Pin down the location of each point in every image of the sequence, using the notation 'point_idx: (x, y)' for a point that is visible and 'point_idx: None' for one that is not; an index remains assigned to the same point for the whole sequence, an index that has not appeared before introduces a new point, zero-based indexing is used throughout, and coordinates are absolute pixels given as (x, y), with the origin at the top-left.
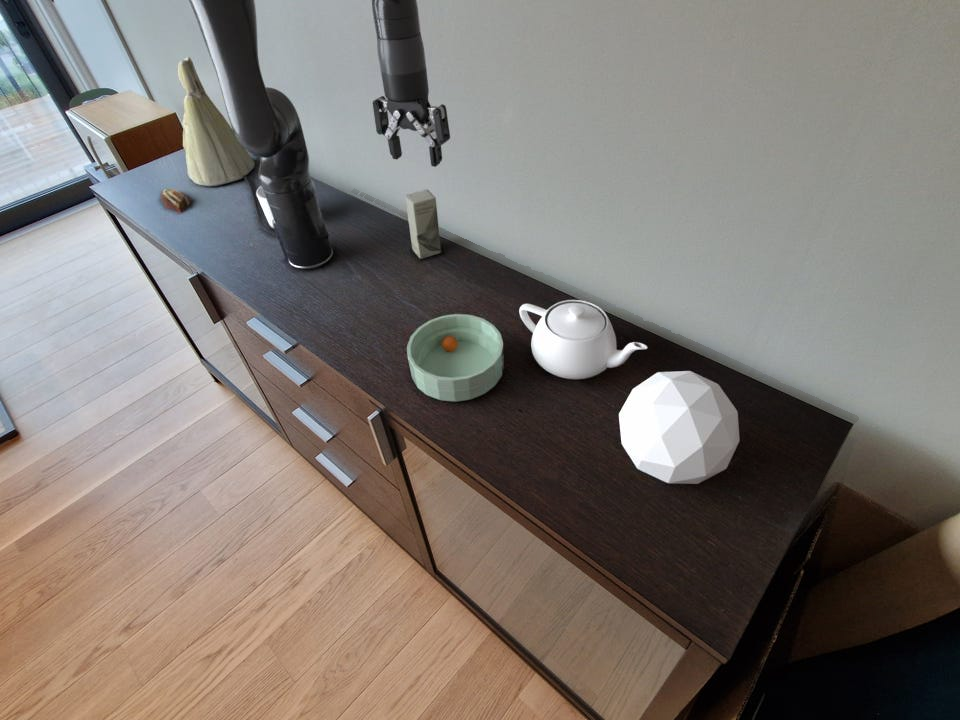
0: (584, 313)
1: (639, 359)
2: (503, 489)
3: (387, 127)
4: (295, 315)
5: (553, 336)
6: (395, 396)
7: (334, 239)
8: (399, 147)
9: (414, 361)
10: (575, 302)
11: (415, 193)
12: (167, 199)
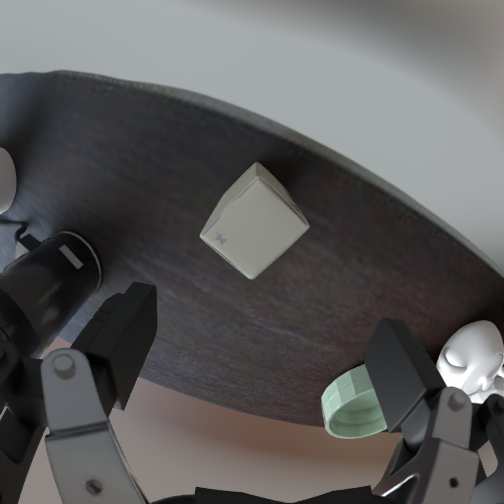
0: (491, 370)
1: (500, 324)
2: (395, 432)
3: (34, 409)
4: (147, 368)
5: None
6: (313, 420)
7: (69, 204)
8: (139, 324)
9: (336, 434)
10: (491, 348)
11: (230, 219)
12: None
